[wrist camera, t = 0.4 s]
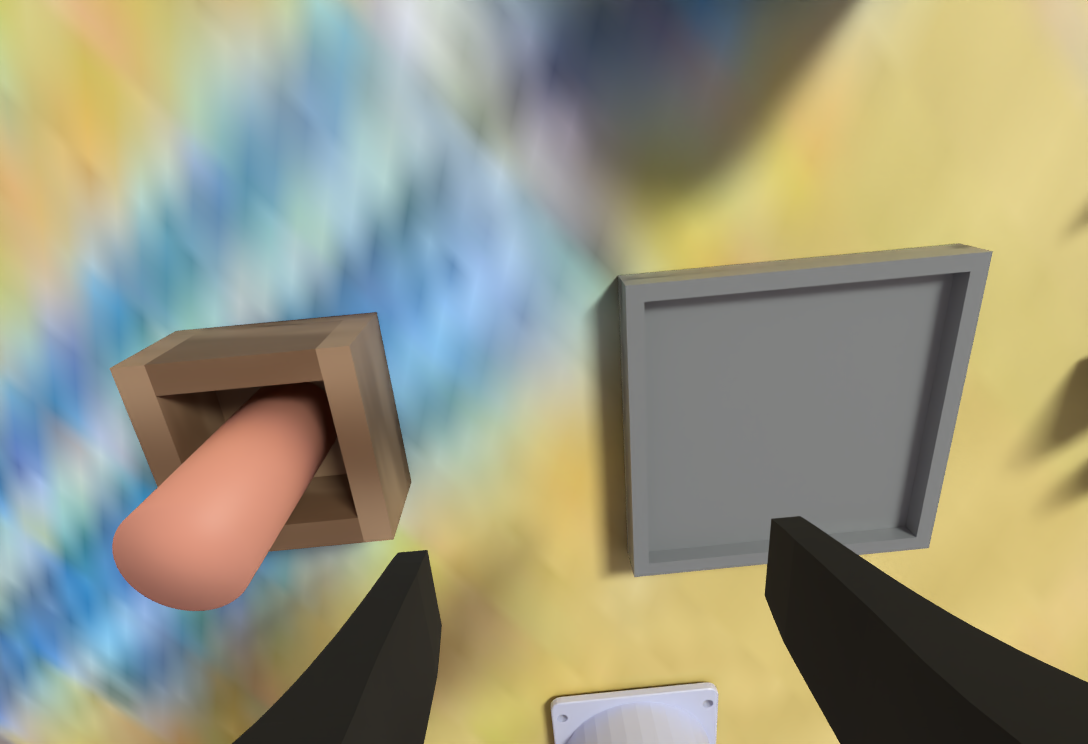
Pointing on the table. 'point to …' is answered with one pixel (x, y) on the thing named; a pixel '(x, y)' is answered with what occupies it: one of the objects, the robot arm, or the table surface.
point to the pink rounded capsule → (227, 501)
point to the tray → (792, 401)
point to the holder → (271, 359)
